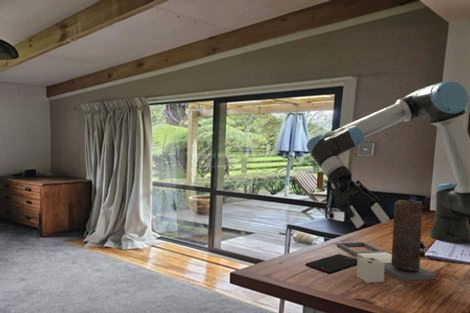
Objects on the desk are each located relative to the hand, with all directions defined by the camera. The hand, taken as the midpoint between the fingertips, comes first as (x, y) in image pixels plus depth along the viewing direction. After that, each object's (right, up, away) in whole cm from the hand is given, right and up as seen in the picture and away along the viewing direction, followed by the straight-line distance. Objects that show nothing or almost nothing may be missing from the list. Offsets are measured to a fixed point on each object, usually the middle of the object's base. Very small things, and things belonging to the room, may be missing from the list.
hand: (374, 223), depth 109 cm
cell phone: (-13, -13, -2) cm, 18 cm away
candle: (+6, -12, -8) cm, 16 cm away
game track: (+3, -12, +3) cm, 13 cm away
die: (-6, -13, -13) cm, 19 cm away
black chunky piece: (+21, -14, +14) cm, 28 cm away
